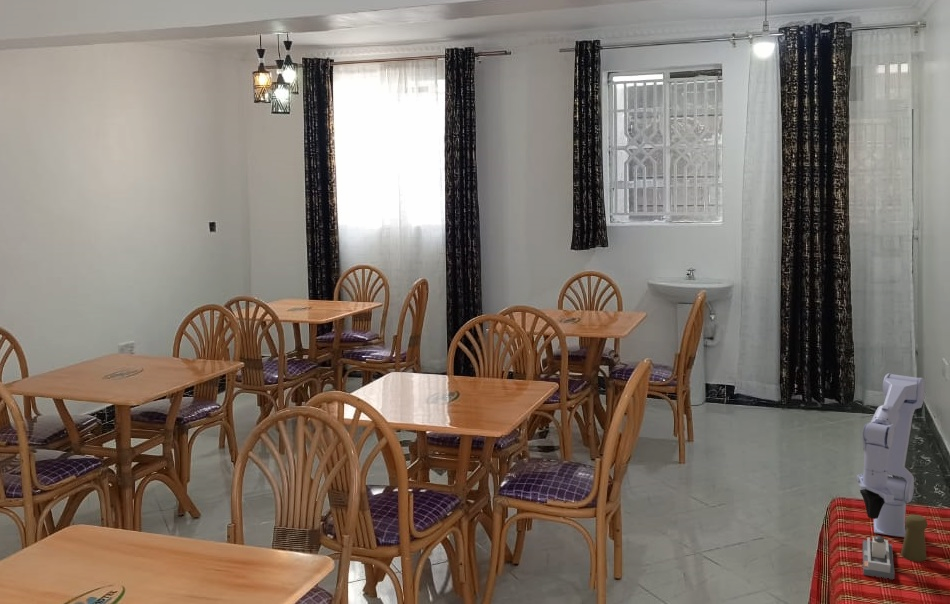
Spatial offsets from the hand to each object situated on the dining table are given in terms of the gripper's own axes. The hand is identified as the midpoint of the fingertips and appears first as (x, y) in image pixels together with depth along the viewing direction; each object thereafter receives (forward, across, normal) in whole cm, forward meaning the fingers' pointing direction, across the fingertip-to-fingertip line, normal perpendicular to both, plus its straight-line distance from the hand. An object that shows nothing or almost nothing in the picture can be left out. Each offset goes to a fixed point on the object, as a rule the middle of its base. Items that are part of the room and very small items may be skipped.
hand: (872, 517), depth 225 cm
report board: (+10, +4, -1) cm, 11 cm away
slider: (+9, +4, 0) cm, 10 cm away
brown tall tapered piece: (+10, +2, +10) cm, 15 cm away
